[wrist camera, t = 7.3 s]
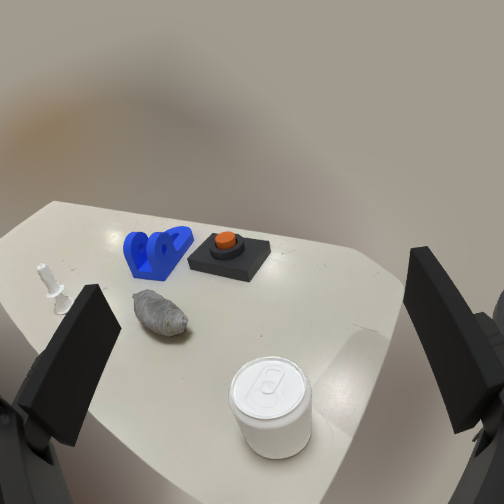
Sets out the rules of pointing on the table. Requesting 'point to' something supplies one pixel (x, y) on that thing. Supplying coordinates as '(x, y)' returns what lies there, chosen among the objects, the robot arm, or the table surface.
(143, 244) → the bracket
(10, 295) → the table surface
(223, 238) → the switch
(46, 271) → the candle
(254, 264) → the push button base
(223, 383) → the table surface
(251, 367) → the beverage can
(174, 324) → the grey ridged oval piece
